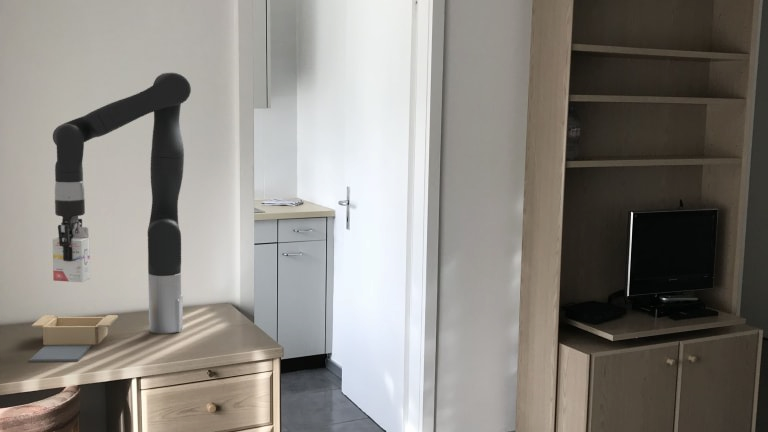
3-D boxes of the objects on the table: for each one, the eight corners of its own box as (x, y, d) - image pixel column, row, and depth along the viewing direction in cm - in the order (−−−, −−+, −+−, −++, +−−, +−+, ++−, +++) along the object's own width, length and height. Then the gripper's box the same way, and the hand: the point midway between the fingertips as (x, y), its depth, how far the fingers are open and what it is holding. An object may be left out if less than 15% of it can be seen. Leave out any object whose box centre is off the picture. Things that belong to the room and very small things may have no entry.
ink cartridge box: (52, 281, 216) (50, 228, 214) (61, 277, 220) (60, 225, 218) (82, 282, 215) (81, 229, 213) (90, 278, 220) (89, 226, 218)
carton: (118, 333, 228) (118, 315, 228) (109, 344, 218) (108, 325, 217) (44, 333, 226) (44, 315, 226) (32, 344, 216) (31, 325, 215)
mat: (90, 347, 215) (90, 345, 215) (78, 361, 203) (78, 359, 203) (45, 347, 214) (45, 345, 214) (29, 361, 202) (29, 359, 202)
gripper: (76, 201, 208) (77, 264, 210) (91, 195, 222) (92, 254, 224) (46, 200, 207) (48, 263, 209) (63, 194, 221) (65, 254, 224)
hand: (71, 258), depth 217 cm, fingers closed on ink cartridge box, 5 cm apart
